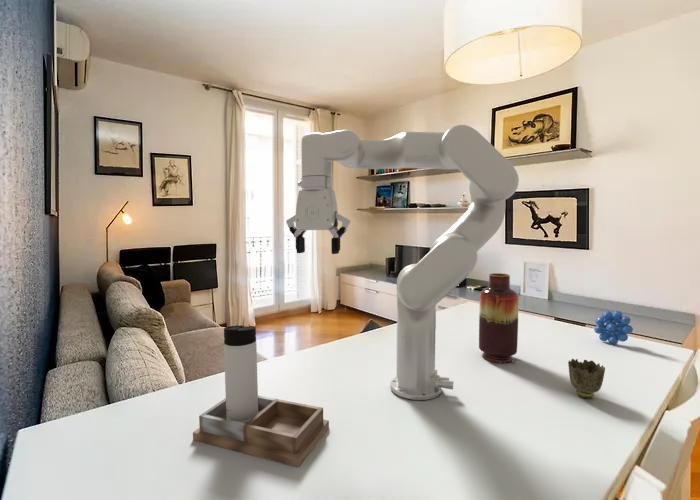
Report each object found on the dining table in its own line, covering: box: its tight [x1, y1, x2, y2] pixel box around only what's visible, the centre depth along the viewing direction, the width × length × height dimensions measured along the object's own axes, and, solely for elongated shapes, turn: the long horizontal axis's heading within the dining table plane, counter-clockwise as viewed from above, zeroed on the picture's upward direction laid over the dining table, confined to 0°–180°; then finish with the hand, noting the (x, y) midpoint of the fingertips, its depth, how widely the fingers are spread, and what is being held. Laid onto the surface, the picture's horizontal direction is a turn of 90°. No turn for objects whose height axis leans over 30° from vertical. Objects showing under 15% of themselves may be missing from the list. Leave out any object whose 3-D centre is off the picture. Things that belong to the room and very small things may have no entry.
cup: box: [567, 358, 606, 400], centre depth 87 cm, size 8×7×8 cm
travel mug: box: [223, 324, 259, 424], centre depth 73 cm, size 6×7×20 cm
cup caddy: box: [192, 395, 330, 468], centre depth 72 cm, size 23×13×4 cm, turn 70°
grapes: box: [594, 310, 634, 345], centre depth 125 cm, size 12×7×12 cm, turn 28°
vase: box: [478, 272, 520, 364], centre depth 112 cm, size 11×11×26 cm
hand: (317, 253), depth 92 cm, fingers open, 9 cm apart
